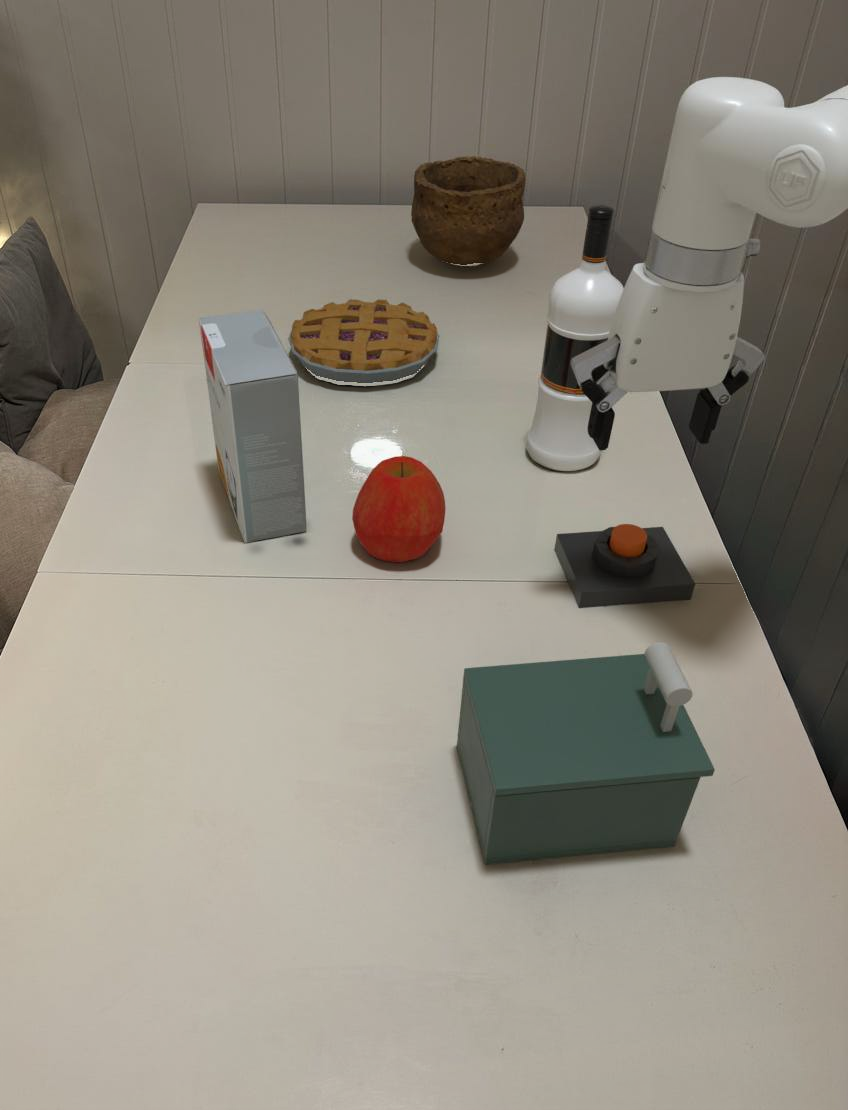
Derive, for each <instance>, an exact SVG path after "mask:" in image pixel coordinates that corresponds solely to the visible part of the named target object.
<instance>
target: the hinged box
mask: <svg viewBox="0 0 848 1110" xmlns="http://www.w3.org/2000/svg"><path fill="white" fill-rule="evenodd" d="M457 729H458V730H457V740H456V747H457V752H458V756H459V760H460V765H461V769H462V772H463V776H464V781H465V783H466V784H465V785H466V788H467V793H468V798H469V803H470V806H471V810H472V814H473V818H474V824H475V827H476V831H477V835H478V841H479V845H480V849H481V853H482V857H483V862H484V865H493V864H506V863H515V862H526V861H537V860H547V859H555V858H556V859H557V858H567V857H576V856H586V855H587V856H588V855H596V854H607V853H617V852H618V853H619V852H628V851H629V852H630V851H638V850H639V851H640V850H649V849H659V848H668V847H669V848H670V847H675V846H676V843H677V840H678V838H679V836H680V833H681V830H682V827H683V825H684V821H685V820H686V817H687V815H688V811H689V809H690V806H691V804H692V801H693V799H694V795H695V793H696V791H697V788H698V785H699V783H700V779H701V777H695V778H684V779H673V780H662V781H651V782H640V783H630V784H619V785H608V786H597V787H586V788H575V789H564V790H553V791H542V792H531V793H520V794H509V795H499V796H496V795H495V793H494V789H493V785H492V781H491V777H490V773H489V770H488V766H487V762H486V758H485V754H484V750H483V747H482V743H481V739H480V735H479V731H478V727H477V724H476V720H475V716H474V712H473V708H472V704H471V701H470V697H469V693H468V689H467V685H466V682H465V678H464V675H463V678H462V688H461V698H460V709H459V718H458V728H457Z"/></svg>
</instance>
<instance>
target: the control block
mask: <svg viewBox="0 0 848 1110" xmlns="http://www.w3.org/2000/svg"><path fill="white" fill-rule="evenodd" d="M615 527H616V526H609V527H607V528H605V529H604V530H603V529H602V530H596V531H595V530H594V531H581V532H580V531H579V532H566V533H556V538H555V544H554V548H553V549H554V552H555V554H556V558H557V559H558V562H559V564H560V567H561V569H562V571H563V572H562V573H563V574H564V576H565V579H566V581H567V583H568V586H569V588H570V591H571V593H572V596H573V598H574V600H575V603H576V605H577V608H578V609H587V608H588V609H589V608H601V607H611V606H612V607H613V606H627V605H638V604H639V605H640V604H654V603H666V602H676V601H677V602H680V601H691V600H692V597H693V594H694V590H695V587H696V583H695V580H694V578H693V577H692V575H691V573H690V572H689V570H688V568H687V566H686V565H685V563H684V561H683V559H682V558H681V555H680V554H679V552H678V551H677V549H676V547H675V545H674V543H673V542H672V539H671V538H670V537H669V535H668V533H667V532H666V529H665V528H664V526H653V527H652V526H651V527H641V528H642V529H643V530H644V531H645V532H646V533H647V541H646V545H645V549H644V552H643V553H642V554H641V555H640V556H638V557H625V556H621V555H617V554H616V553H614V552H613V551H612V550H611V549H610V547H609V543H610V539H611V534H612V530H613V529H614V528H615Z"/></svg>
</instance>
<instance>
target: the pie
mask: <svg viewBox="0 0 848 1110" xmlns="http://www.w3.org/2000/svg"><path fill="white" fill-rule="evenodd" d="M287 340H288V343H289V347H290V349H291V352H292V354H293V355H295V356H296V357H297V358H298V359H299V361H300V363H301V365H302V367H303V368H304V367H306V368H307V369H308V370H310V371H311V372H312V373H313V374H315V375H316V376H320V377H324V378H328V379H332V380H336V381H344V382H357V383H373V382H383V381H393V380H397V379H400V378H403V377H406V376H409V375H413V374H415V373H417V371H419V369H421V367H422V366H423V365H425V364H426V365H427V363H429V360H430V359H431V356H432V355H433V354H435V353H436V352H437V351H438V347H439V341H440V334H439V333H438V328H437V326H436V324H435V323H434V322H433V323H432V321H431V320H430V318H429V315H428V314H427V313H425V312H424V311H418V312H417V311H415V310H413V308H412V306H411V305H408V304H407V303H405V302H400V303H399V304H397V305H396V304H390V303H389V301H388V300H387V299H377V300H375V301H373V302H370V301H363V300H361V299H353V298H352V299H351V298H350V299H349V300H347V301H346V302H344V303H339V304H337V303H335V302H333V301H331V302H328V303H327V304H324V305H323V307H321V308H318V309H315V308H310V309H308V310H306V311H303V314H302V318H301V319H294V321H293V323H292V325H291V331H290V333H289V335H288V338H287ZM426 365H425V366H426Z"/></svg>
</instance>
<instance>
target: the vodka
mask: <svg viewBox="0 0 848 1110" xmlns="http://www.w3.org/2000/svg"><path fill="white" fill-rule="evenodd" d="M588 211H589V212H588V216H587V223H586V229H585V236H584V241H583V249H582V256H581V261H580V266H579V267H577V268H575V269H573V270H571V271H570V272H567V273H565V274H564V275H562V276H560V277H559V278H558V279H557V280H556V281H555V282H554V284H553V286H552V287H551V290H550V292H549V298H548V313H547V315H546V322H547V326H546V334H545V340H544V341H545V342H544V347H543V348H544V349H543V354H542V355H543V356H542V362H541V363H542V364H541V372H540V375H539V377H538V380H537V383H538V389H537V390H538V391H537V399H536V400H537V401H536V405H535V412H534V416H533V419H532V422H531V426H530V428H529V430H528V432H527V436H526V443H525V444H526V445H525V447H526V450H527V453H528V455H529V458H531V459H532V460H533V461H534V462H535V463H537V464H539V465H541V466H543V467H545V468H547V469H549V470H553V471H559V472H575V471H579V470H585V469H587V468H589V467H591V466H593V465H594V464H595V463H596V462H597V461H598V459H599V458H600V456H601V453H602V450H599V449H598V447H597V445H596V444H595V442H594V440H593V438H590V436H589V434H588V422H589V417H590V412H591V407H592V402H591V401H590V400H589V398H588V397H587V396H586V395H585V394H584V393H583V391H582V390H581V388H580V386H579V385H578V383H577V379H576V377H575V374H574V372H573V369H572V367H571V363H570V362H571V360H572V358H574V357H575V356H577V355H579V354H581V353H583V352H585V351H587V350H589V349H591V348H593V347H595V346H597V345H599V344H601V343H603V342H605V341H607V340H608V337H609V333H610V329H611V326H612V322H613V319H614V315H615V312H616V309H617V306H618V303H619V300H620V297H621V295H622V292H623V290H624V286H623V284H622V283H621V281H619V279H617V278H616V277H615V276H614V275H613V274H611V273H610V272H609V271H608V270H606V264H607V263H606V260H607V255H608V249H609V243H610V238H611V229H612V226H613V221H614V220H613V218H614V213H615V209H614V207H613V206H611V205H609V204H604V203H596V204H593V205H590V207H589V208H588ZM608 371H609V370H608V369H605V366H604V364H602V365H600V366H598V367H596V368H595V369H593V371H592V373H591V375H592V378H593V380H594V381H595V382H597V381H598V380H599V379H600V378H601V377H603V376H604V375H605V374H606V373H607V372H608Z"/></svg>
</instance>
